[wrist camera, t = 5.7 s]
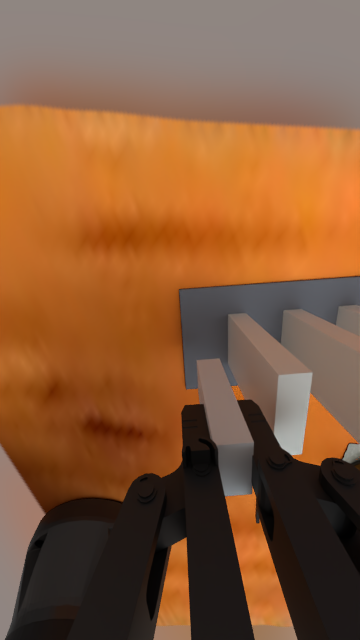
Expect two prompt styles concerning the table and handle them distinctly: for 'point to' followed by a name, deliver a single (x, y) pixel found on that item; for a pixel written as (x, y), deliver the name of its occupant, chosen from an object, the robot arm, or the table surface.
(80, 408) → the table surface
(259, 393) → the domino
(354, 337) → the domino
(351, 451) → the condiment
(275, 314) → the mat
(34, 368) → the table surface
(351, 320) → the domino
